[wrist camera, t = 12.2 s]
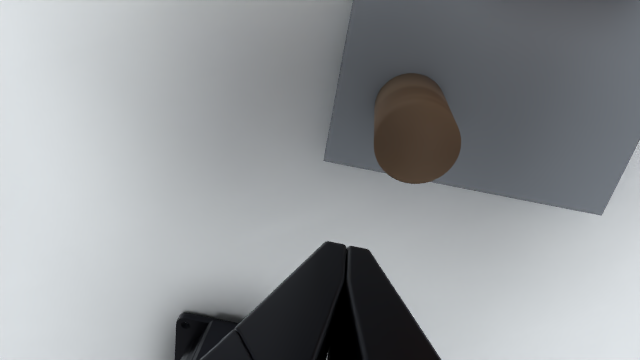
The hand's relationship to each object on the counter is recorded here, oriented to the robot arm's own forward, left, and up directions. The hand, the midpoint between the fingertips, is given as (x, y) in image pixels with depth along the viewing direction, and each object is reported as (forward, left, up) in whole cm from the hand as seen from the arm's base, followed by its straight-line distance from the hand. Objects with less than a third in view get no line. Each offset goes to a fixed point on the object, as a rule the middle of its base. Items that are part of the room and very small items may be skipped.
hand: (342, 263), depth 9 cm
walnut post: (0, -2, -12) cm, 12 cm away
